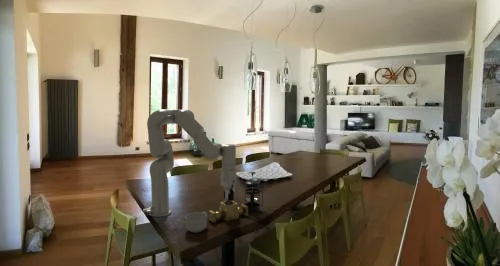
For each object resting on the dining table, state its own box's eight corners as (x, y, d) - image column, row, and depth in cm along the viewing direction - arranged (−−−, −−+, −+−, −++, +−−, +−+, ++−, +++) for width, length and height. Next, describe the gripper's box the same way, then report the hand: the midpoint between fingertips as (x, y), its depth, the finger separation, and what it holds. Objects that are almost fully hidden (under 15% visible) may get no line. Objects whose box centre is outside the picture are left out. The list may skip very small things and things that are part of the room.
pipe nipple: (227, 208, 183) (227, 186, 182) (223, 206, 187) (223, 185, 186) (233, 206, 186) (233, 185, 184) (230, 204, 189) (230, 184, 188)
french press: (242, 212, 196) (242, 173, 194) (244, 207, 206) (244, 170, 203) (262, 212, 195) (262, 174, 193) (263, 207, 205) (263, 170, 202)
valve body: (214, 223, 177) (214, 208, 176) (207, 219, 184) (207, 204, 183) (249, 216, 189) (249, 201, 189) (241, 212, 196) (241, 198, 195)
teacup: (194, 236, 160) (194, 220, 160) (180, 230, 168) (180, 215, 167) (215, 228, 171) (215, 213, 170) (202, 223, 178) (202, 208, 177)
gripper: (215, 165, 189) (215, 196, 191) (230, 170, 175) (230, 204, 177) (227, 163, 193) (227, 194, 195) (242, 168, 179) (242, 202, 181)
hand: (228, 198), depth 186 cm, fingers closed on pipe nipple, 4 cm apart
